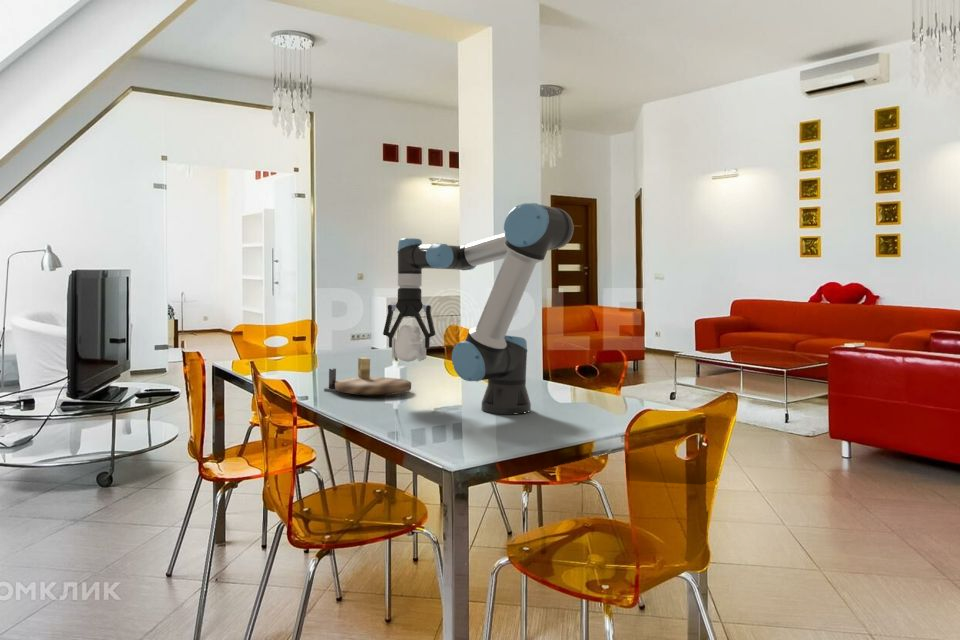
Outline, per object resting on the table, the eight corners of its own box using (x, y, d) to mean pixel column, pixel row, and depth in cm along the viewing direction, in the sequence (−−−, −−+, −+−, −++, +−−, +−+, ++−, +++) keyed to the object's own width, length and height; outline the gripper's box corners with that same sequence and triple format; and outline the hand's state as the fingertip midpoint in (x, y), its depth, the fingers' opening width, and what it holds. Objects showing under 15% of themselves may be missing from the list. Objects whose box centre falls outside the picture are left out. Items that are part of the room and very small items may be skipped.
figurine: (389, 362, 214) (389, 324, 214) (398, 359, 224) (398, 323, 223) (420, 363, 213) (420, 325, 212) (427, 360, 222) (428, 323, 222)
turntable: (417, 383, 249) (418, 359, 248) (402, 396, 222) (403, 368, 222) (347, 381, 251) (348, 356, 251) (324, 392, 224) (325, 365, 224)
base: (397, 390, 243) (397, 369, 242) (388, 396, 229) (389, 374, 228) (331, 387, 245) (331, 366, 244) (318, 393, 231) (318, 371, 230)
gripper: (445, 288, 220) (444, 357, 221) (378, 287, 222) (378, 356, 223) (442, 287, 212) (441, 360, 213) (373, 287, 214) (372, 358, 215)
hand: (409, 358), depth 218 cm, fingers closed on figurine, 9 cm apart
